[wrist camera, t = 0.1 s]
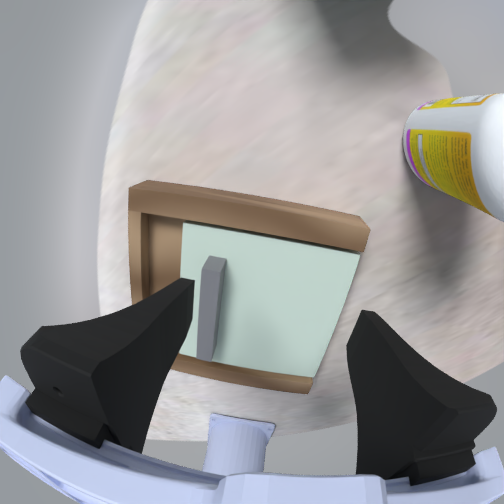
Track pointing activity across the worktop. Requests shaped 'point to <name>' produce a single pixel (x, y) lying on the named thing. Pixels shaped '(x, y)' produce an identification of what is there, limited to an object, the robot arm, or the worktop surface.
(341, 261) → the cover plate
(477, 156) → the supplement bottle
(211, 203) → the wooden box
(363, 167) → the worktop surface
